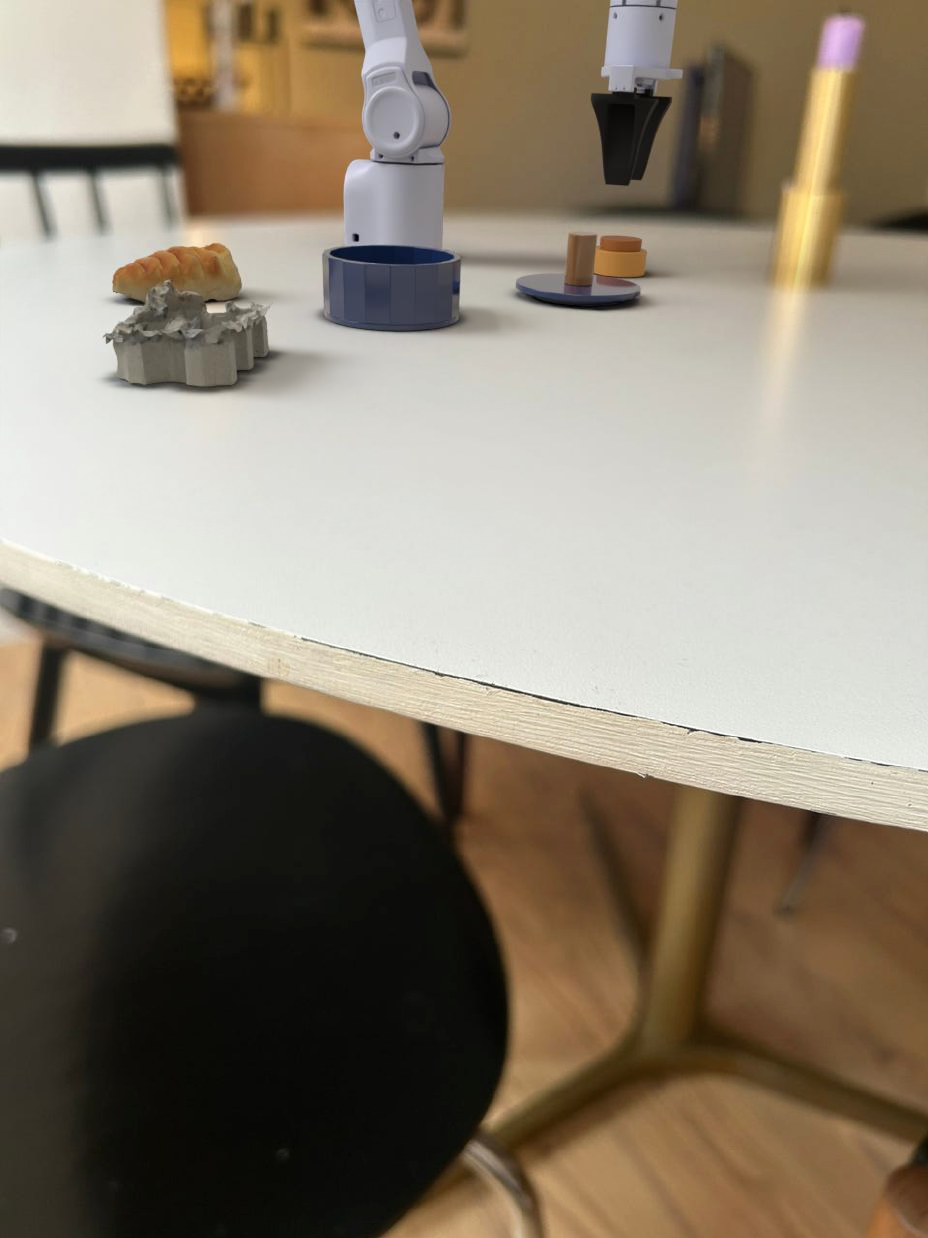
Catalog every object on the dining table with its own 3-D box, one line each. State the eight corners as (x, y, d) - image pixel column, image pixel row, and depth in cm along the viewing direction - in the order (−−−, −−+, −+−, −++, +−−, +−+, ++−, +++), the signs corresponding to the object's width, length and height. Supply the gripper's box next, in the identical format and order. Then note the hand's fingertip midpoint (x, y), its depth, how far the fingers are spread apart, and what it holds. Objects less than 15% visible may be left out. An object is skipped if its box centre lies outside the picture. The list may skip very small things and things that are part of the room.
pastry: (134, 309, 70) (127, 254, 69) (100, 295, 75) (92, 242, 73) (250, 298, 76) (246, 247, 74) (211, 285, 80) (207, 236, 78)
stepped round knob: (586, 274, 93) (589, 238, 91) (596, 266, 97) (599, 232, 96) (639, 279, 92) (644, 243, 90) (647, 271, 96) (651, 237, 94)
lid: (500, 301, 79) (504, 235, 76) (531, 281, 88) (536, 221, 85) (628, 314, 76) (636, 246, 74) (647, 292, 85) (655, 231, 83)
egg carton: (173, 342, 62) (167, 276, 61) (285, 351, 62) (282, 284, 60) (95, 383, 53) (84, 306, 51) (225, 394, 52) (219, 316, 50)
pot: (301, 321, 69) (298, 257, 67) (357, 298, 78) (356, 240, 76) (432, 336, 67) (434, 269, 65) (475, 310, 75) (477, 251, 73)
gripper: (679, 2, 76) (656, 190, 82) (698, 16, 88) (677, 179, 94) (591, 0, 77) (575, 184, 84) (621, 15, 90) (606, 175, 96)
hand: (624, 182), depth 89 cm, fingers open, 7 cm apart
